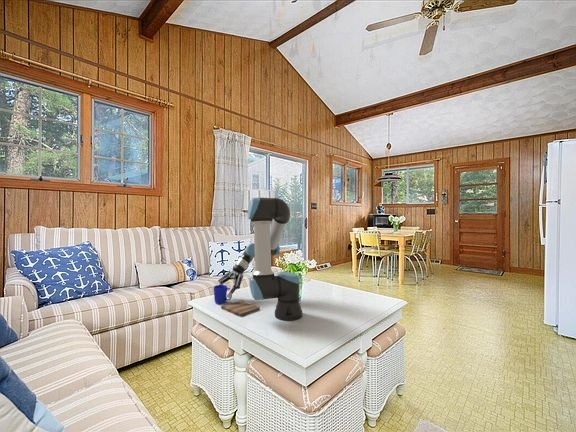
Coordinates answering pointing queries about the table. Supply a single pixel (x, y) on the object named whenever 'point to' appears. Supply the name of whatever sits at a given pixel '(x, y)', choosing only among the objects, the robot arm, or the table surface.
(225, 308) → the walnut board
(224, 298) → the mug
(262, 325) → the table surface
